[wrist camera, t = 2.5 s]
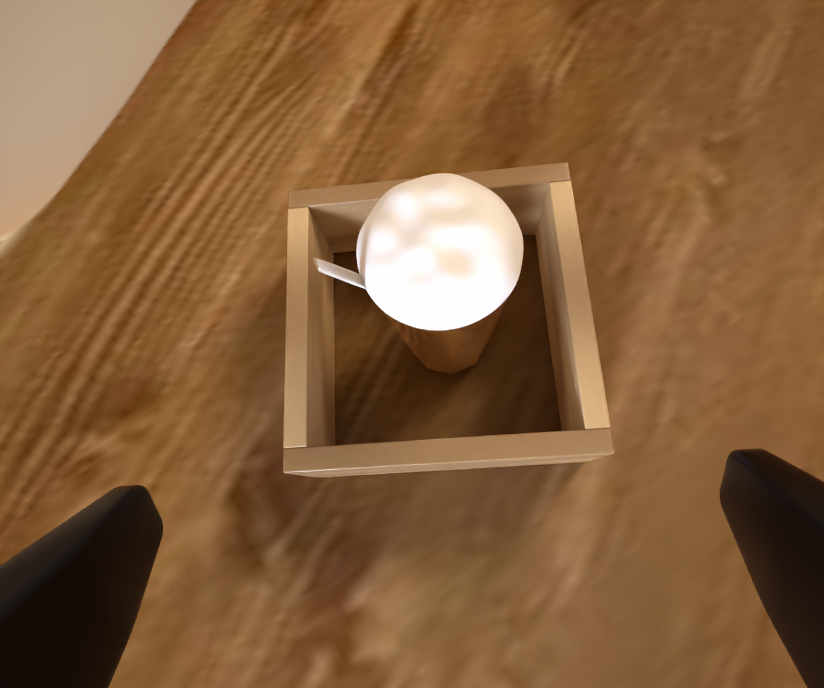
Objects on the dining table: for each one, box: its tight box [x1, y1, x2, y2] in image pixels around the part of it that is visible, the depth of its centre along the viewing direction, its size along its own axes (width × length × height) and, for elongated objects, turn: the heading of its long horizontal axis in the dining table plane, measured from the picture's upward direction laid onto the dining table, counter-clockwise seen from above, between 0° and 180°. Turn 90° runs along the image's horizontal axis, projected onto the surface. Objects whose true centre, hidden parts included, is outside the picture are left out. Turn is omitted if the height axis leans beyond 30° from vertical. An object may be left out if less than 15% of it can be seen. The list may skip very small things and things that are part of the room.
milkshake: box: [313, 173, 523, 374], centre depth 17 cm, size 4×5×10 cm
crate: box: [283, 162, 615, 478], centre depth 20 cm, size 11×11×4 cm
